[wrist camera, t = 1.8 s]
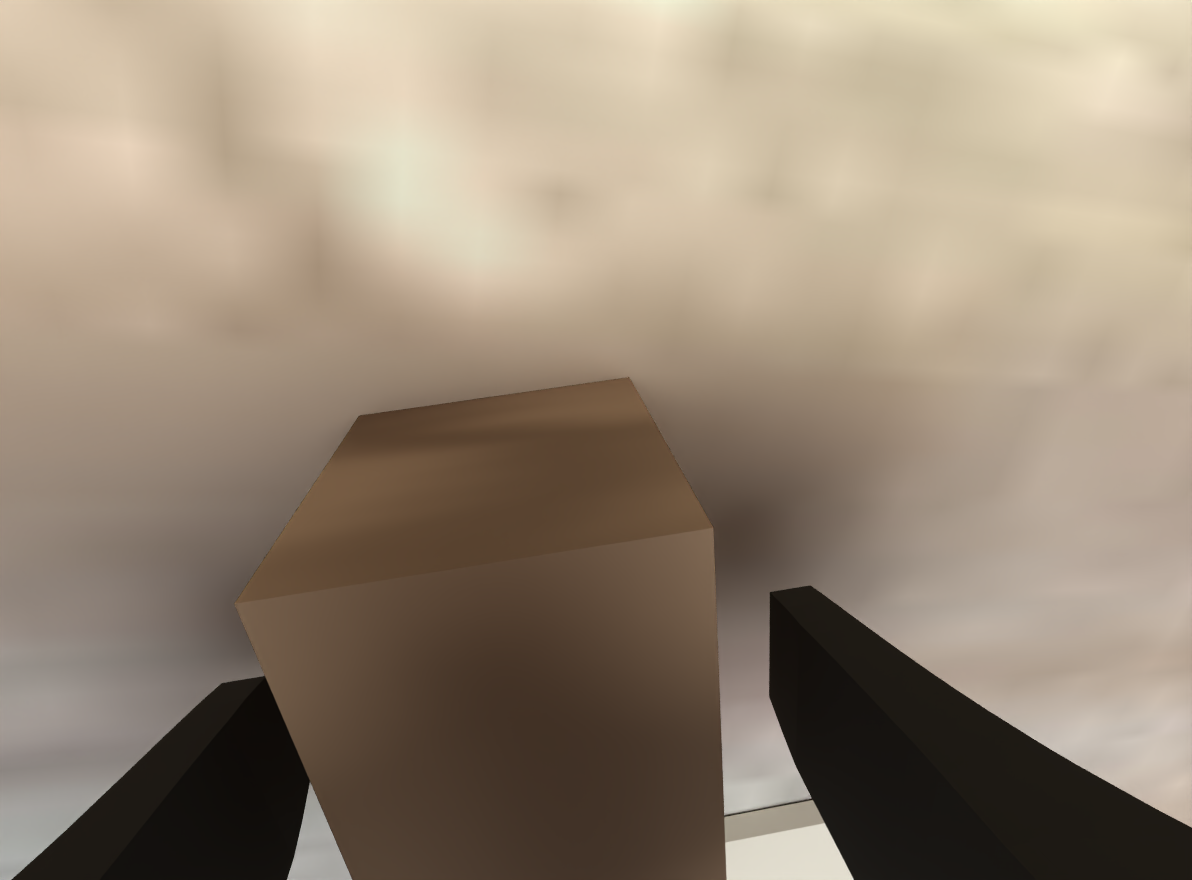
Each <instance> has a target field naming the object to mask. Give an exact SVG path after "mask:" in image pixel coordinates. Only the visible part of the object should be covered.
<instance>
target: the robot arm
mask: <svg viewBox="0 0 1192 880" xmlns="http://www.w3.org/2000/svg"><path fill="white" fill-rule="evenodd" d="M769 697H770V700H771V702H772V705H773V708H774V711H775V713H776V716H777V719H778V721H779V724H780V727H781V729H782V732H783V735H784V737H785V740H786V742H787V745H788V747H789V750H790V753H791V755H792V758H793V760H794V763H795V765H796V767H797V769H798V771H799V773H800V775H801V777H802V779H803V781H804V783H805V785H806V787H807V789H808V791H809V793H810V795H811V797H812V799H813V801H814V803H815V805H816V807H817V809H818V811H819V813H820V815H821V817H822V819H823V821H824V823H825V825H826V827H827V829H828V830H829V832H830V834H831V836H832V838H833V840H834V842H835V844H836V846H837V848H838V850H839V852H840V854H841V856H842V858H843V860H844V862H845V864H846V865H847V867H848V869H849V871H850V873H851V875H852V877H853V879H854V880H1192V828H1191V827H1189V826H1188V825H1186V824H1184V823H1182V822H1180V821H1178V820H1176V819H1174V818H1172V817H1170V816H1168V815H1166V814H1165V813H1163V812H1161V811H1159V810H1157V809H1155V808H1153V807H1151V806H1150V805H1148V804H1146V803H1144V802H1142V801H1141V800H1139V799H1137V798H1135V797H1133V796H1132V795H1130V794H1128V793H1126V792H1124V791H1123V790H1121V789H1119V788H1117V787H1115V786H1114V785H1112V784H1110V783H1108V782H1106V781H1105V780H1103V779H1101V778H1099V777H1098V776H1096V775H1094V774H1092V773H1090V772H1089V771H1087V770H1085V769H1083V768H1081V767H1080V766H1078V765H1076V764H1074V763H1073V762H1071V761H1069V760H1068V759H1066V758H1064V757H1062V756H1061V755H1059V754H1057V753H1056V752H1054V751H1052V750H1051V749H1049V748H1047V747H1046V746H1044V745H1042V744H1041V743H1039V742H1037V741H1036V740H1034V739H1033V738H1031V737H1029V736H1028V735H1026V734H1025V733H1023V732H1021V731H1020V730H1018V729H1017V728H1015V727H1013V726H1012V725H1010V724H1009V723H1007V722H1005V721H1004V720H1002V719H1001V718H999V717H997V716H996V715H994V714H993V713H991V712H989V711H988V710H986V709H985V708H983V707H982V706H980V705H979V704H977V703H976V702H974V701H973V700H971V699H969V698H968V697H966V696H965V695H963V694H962V693H960V692H959V691H957V690H956V689H954V688H953V687H951V686H950V685H948V684H947V683H945V682H944V681H943V680H941V679H940V678H938V677H937V676H935V675H934V674H932V673H931V672H929V671H928V670H927V669H925V668H924V667H922V666H921V665H919V664H918V663H916V662H915V661H914V660H912V659H911V658H909V657H908V656H907V655H905V654H904V653H902V652H901V651H900V650H898V649H897V648H895V647H894V646H893V645H891V644H890V643H888V642H887V641H886V640H884V639H883V638H882V637H880V636H879V635H877V634H876V633H875V632H873V631H872V630H871V629H869V628H868V627H866V626H865V625H864V624H862V623H861V622H860V621H858V620H857V619H856V618H854V617H853V616H851V615H850V614H849V613H847V612H846V611H845V610H843V609H842V608H841V607H839V606H838V605H837V604H835V603H834V602H833V601H831V600H830V599H828V598H827V597H826V596H824V595H823V594H822V593H820V592H819V591H817V590H816V589H815V588H813V587H812V586H804V587H798V588H792V589H786V590H780V591H774V592H770V666H769ZM309 784H310V780H309V777H308V775H307V773H306V770H305V768H304V766H303V763H302V761H301V759H300V756H299V754H298V752H297V749H296V747H295V745H294V742H293V740H292V738H291V735H290V733H289V731H288V728H287V726H286V724H285V721H284V719H283V717H282V714H281V712H280V710H279V707H278V705H277V703H276V700H275V698H274V696H273V693H272V691H271V689H270V686H269V684H268V682H267V679H266V677H265V676H263V677H257V678H251V679H245V680H238V681H232V682H226V683H222V684H221V685H219V686H218V687H217V688H216V689H215V690H214V691H213V692H211V693H210V694H209V695H208V696H207V697H206V698H205V699H204V700H202V701H201V702H200V703H199V704H198V705H197V706H196V707H195V708H194V709H193V710H192V711H191V712H190V713H188V714H187V715H186V716H185V717H184V718H183V719H182V720H181V721H180V722H179V723H178V724H177V725H176V726H175V727H174V728H173V729H172V730H171V731H170V732H168V733H167V734H166V735H165V736H164V737H163V738H162V739H161V740H160V741H159V742H158V743H157V744H156V745H155V746H154V747H153V748H152V749H151V750H150V751H149V752H148V753H147V754H146V755H145V756H144V757H142V758H141V759H140V760H139V761H138V762H137V763H136V764H135V765H134V766H133V767H132V768H131V769H130V770H129V771H128V772H127V773H126V774H125V775H124V776H123V777H122V778H121V779H119V780H118V781H117V782H116V783H115V784H114V785H113V786H112V787H111V788H110V789H109V790H108V791H107V792H106V793H105V794H104V795H103V796H102V797H101V798H100V799H98V800H97V801H96V802H95V803H94V804H93V805H92V806H91V807H90V808H89V809H88V810H87V811H86V812H85V813H84V814H83V815H82V816H81V817H80V818H78V819H77V820H76V821H75V822H74V823H73V824H72V825H71V826H70V827H69V828H68V829H67V830H66V831H65V832H64V833H63V834H62V835H60V836H59V837H58V838H57V839H56V840H55V841H54V842H53V843H52V844H51V845H50V846H48V847H47V848H46V849H45V850H44V851H43V852H42V853H41V854H40V855H38V856H37V857H36V858H35V859H34V860H33V861H32V862H31V863H30V864H28V865H27V866H26V867H25V868H24V869H23V870H22V871H21V872H20V873H18V874H17V875H16V876H15V877H14V878H13V879H12V880H287V877H288V874H289V871H290V868H291V865H292V862H293V858H294V854H295V850H296V846H297V841H298V837H299V832H300V828H301V824H302V819H303V814H304V809H305V804H306V799H307V794H308V789H309Z"/></svg>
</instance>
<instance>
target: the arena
mask: <svg viewBox="0 0 1192 880" xmlns="http://www.w3.org/2000/svg"><path fill="white" fill-rule="evenodd" d="M724 823H725V850H726V877H727V880H854V879H853V877H852V875H851V873H850V871H849V869H848V867H847V865H846V864H845V862H844V860H843V858H842V856H841V854H840V852H839V850H838V848H837V846H836V844H835V842H834V840H833V838H832V836H831V834H830V832H829V830H828V829H827V827H826V825H825V823H824V821H823V819H822V817H821V815H820V813H819V811H818V809H817V807H816V805H815V803H814V801H813V800H810V801H805V802H800V803H795V804H790V805H784V806H779V807H774V808H769V809H764V810H758V811H753V812H748V813H743V814H738V815H732V816H727V817H724Z"/></svg>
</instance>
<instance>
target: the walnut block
mask: <svg viewBox="0 0 1192 880" xmlns="http://www.w3.org/2000/svg"><path fill="white" fill-rule="evenodd" d="M234 605H235V607H236V609H237V612H238V614H239V616H240V619H241V621H242V623H243V626H244V628H245V630H246V633H247V635H248V637H249V640H250V642H251V644H252V647H253V649H254V651H255V654H256V656H257V658H258V661H259V663H260V665H261V668H262V670H263V672H264V675H265V677H266V679H267V682H268V684H269V686H270V689H271V691H272V693H273V696H274V698H275V700H276V703H277V705H278V707H279V710H280V712H281V714H282V717H283V719H284V721H285V724H286V726H287V728H288V731H289V733H290V735H291V738H292V740H293V742H294V745H295V747H296V749H297V752H298V754H299V756H300V759H301V761H302V763H303V766H304V768H305V770H306V773H307V775H308V777H309V780H310V782H311V784H312V787H313V789H314V791H315V794H316V796H317V798H318V801H319V803H320V805H321V808H322V810H323V812H324V815H325V817H326V819H327V822H328V824H329V826H330V829H331V831H332V833H333V836H334V838H335V840H336V843H337V845H338V847H339V850H340V852H341V854H342V857H343V859H344V861H345V864H346V866H347V868H348V871H349V873H350V875H351V878H352V880H727V877H726V850H725V823H724V797H723V770H722V743H721V717H720V690H719V663H718V637H717V610H716V583H715V556H714V530H713V526H712V524H711V523H710V521H709V519H708V517H707V515H706V514H705V512H704V510H703V508H702V507H701V505H700V503H699V501H698V499H697V498H696V496H695V494H694V492H693V490H692V489H691V487H690V485H689V483H688V481H687V480H686V478H685V476H684V474H683V473H682V471H681V469H680V467H679V465H678V464H677V462H676V460H675V458H674V456H673V455H672V453H671V451H670V449H669V448H668V446H667V444H666V442H665V440H664V439H663V437H662V435H661V433H660V431H659V430H658V428H657V426H656V424H655V422H654V421H653V419H652V417H651V415H650V414H649V412H648V410H647V408H646V406H645V405H644V403H643V401H642V399H641V397H640V396H639V394H638V392H637V390H636V389H635V387H634V385H633V383H632V381H631V380H630V378H629V377H628V378H621V379H614V380H607V381H600V382H593V383H586V384H579V385H572V386H565V387H558V388H550V389H543V390H536V391H529V392H522V393H515V394H508V395H501V396H494V397H487V398H480V399H473V400H466V401H459V402H452V403H445V404H438V405H431V406H424V407H417V408H410V409H403V410H396V411H389V412H382V413H375V414H368V415H361V416H359V417H358V418H357V420H356V421H355V423H354V424H353V426H352V427H351V429H350V431H349V432H348V434H347V435H346V437H345V438H344V440H343V441H342V443H341V444H340V446H339V447H338V449H337V450H336V452H335V453H334V455H333V456H332V458H331V459H330V461H329V462H328V464H327V465H326V467H325V468H324V470H323V471H322V473H321V474H320V476H319V477H318V479H317V480H316V482H315V483H314V485H313V486H312V488H311V489H310V491H309V492H308V494H307V495H306V497H305V498H304V500H303V501H302V503H301V504H300V506H299V507H298V509H297V510H296V512H295V513H294V515H293V516H292V518H291V519H290V521H289V522H288V524H287V525H286V527H285V528H284V530H283V531H282V533H281V534H280V536H279V537H278V539H277V540H276V542H275V543H274V545H273V546H272V548H271V549H270V551H269V552H268V554H267V555H266V557H265V558H264V560H263V561H262V563H261V564H260V566H259V567H258V569H257V570H256V572H255V573H254V575H253V576H252V578H251V579H250V581H249V582H248V584H247V585H246V587H245V588H244V590H243V591H242V593H241V594H240V596H239V597H238V599H237V600H236V602H235V603H234Z"/></svg>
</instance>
